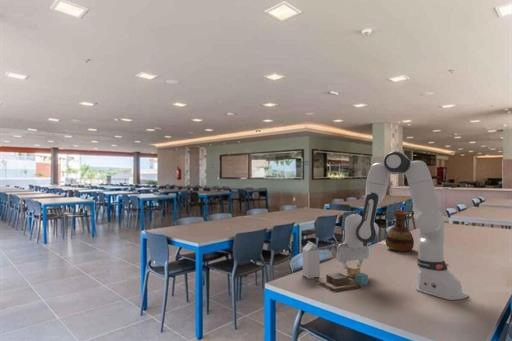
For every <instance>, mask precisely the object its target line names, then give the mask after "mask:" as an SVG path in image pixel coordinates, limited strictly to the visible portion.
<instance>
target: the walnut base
mask: <svg viewBox="0 0 512 341" xmlns="http://www.w3.org/2000/svg"><path fill="white" fill-rule="evenodd" d="M317 282H318V283H320V284H322V285H323V287H324V286H325V288H326V287H327V288H326V289H328V288H329V289H328V290H330V289H331V290H330V291H332V292H333V291H336V292H341V291H347V290H352V289H353V290H355V289H359V288H361V286H362V285H361V284H359V283H356V282H355V280H352V279H350V277H349V276H347V275H345V274H342V272H334V273H327V274H326V276H325V277H321V278H320V277H319V278H315V283H317ZM318 283H317V284H318ZM320 284H319V285H320ZM322 285H321V286H322Z"/></svg>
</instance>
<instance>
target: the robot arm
mask: <svg viewBox="0 0 512 341" xmlns="http://www.w3.org/2000/svg"><path fill="white" fill-rule="evenodd" d="M396 174H398V175H399V174H404V176H405V177H406V180H407V184H408V188H409V192H410V196H411V200H412V207H413V208H412V209H413V214H414V219H415V224H416V227H417V228H418V242H417V253H418V254H417V256H418V257H417V263H416V264H417V276H416V277H417V278H416V282H415V286H414V287H415V288H416V291H417V292H421V293H425V294H428V295H431V296H435V297H438V298H442V299H445V300H448V301H449V300H452V301H455V300H463V299H466V298H468V297H469V294H468V293H467V291H463V289H462V284H461V281H460V280H459V279H458V278H457V277H456V276H455V275H454V274H453V273H452V272H450V270H448V267H449V266H450V263H446V261H445V260H444V257H445V254H444V244H445V243H444V240H445V239H444V238H445V217H444V214H443V213H442V212H441V211H440V208H439V204H438V202H439V201H438V197H437V193H436V189H435V185H434V181H433V178H432V175H431V172H430V170H429V168H428V165H427V164H426V162H424V160H413V161H412V160H410V159H409V157H408V156H407V155H406V154H405V153H404V152H400V151H396V150H395V151H390V152H389V153H387V154H385V157H384V158H383V162H375V163H373V164H371V166H370V168H369V170H368V173H367V176H366V182H365V197H364V206H363V210H362V216H361V215H360V214H359V213H354V214H349V215H347V216H346V217H345V219H344V233H345V234H344V243H340V244H338V246H337V247H336V253H335V254H336V255H335V260H337V261H338V262H341V263H342V266H343V270H347V269H348V267H349V266H348V265H347V264H346V263H347V262H348V261H349V262H350V261H358V263H357V264H356V265H357V266H356V267H359V268H362V264H363V262H364V260H368V259H369V257H370V251H369V250H370V249H369V243H373V241H375V239H376V237H377V236H378V235H379V233H380V227H379V225H378V223H376V222H375V220H376V215H377V210H378V207H379V205H380V204H381V202H382V201H383V200H384V198H385V196H386V193H387V191H388V185H389V180H390V177H391V176H392V175H396Z"/></svg>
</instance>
